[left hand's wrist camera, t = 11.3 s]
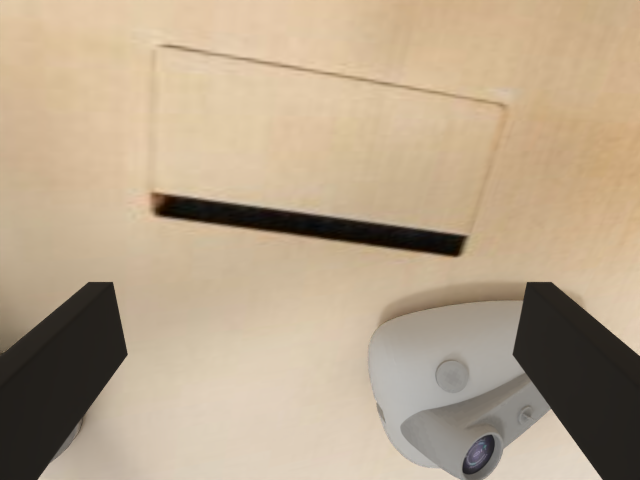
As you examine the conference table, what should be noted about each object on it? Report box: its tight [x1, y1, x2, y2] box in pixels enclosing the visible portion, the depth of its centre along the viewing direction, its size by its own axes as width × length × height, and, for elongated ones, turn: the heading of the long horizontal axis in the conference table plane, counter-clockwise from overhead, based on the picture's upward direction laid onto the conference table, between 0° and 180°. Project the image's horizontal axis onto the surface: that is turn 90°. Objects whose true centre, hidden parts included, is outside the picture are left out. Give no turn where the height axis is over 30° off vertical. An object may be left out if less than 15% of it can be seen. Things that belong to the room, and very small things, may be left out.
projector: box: [368, 300, 551, 480], centre depth 39 cm, size 22×23×15 cm
